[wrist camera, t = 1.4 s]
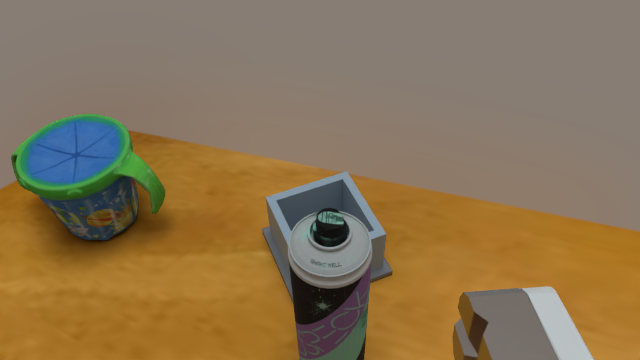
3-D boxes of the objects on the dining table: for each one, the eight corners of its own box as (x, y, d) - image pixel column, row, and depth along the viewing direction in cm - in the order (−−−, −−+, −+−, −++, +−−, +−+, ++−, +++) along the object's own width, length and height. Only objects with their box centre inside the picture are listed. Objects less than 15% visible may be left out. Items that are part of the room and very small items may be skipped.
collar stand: (296, 310, 51) (292, 274, 47) (262, 232, 58) (256, 194, 53) (391, 274, 54) (396, 237, 50) (349, 203, 60) (350, 164, 56)
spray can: (289, 351, 49) (269, 205, 34) (343, 323, 50) (345, 172, 36) (319, 406, 45) (311, 269, 31) (375, 374, 47) (392, 230, 32)
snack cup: (192, 199, 61) (172, 131, 54) (140, 275, 55) (109, 209, 47) (77, 166, 65) (43, 98, 58) (14, 233, 59) (-33, 166, 51)
